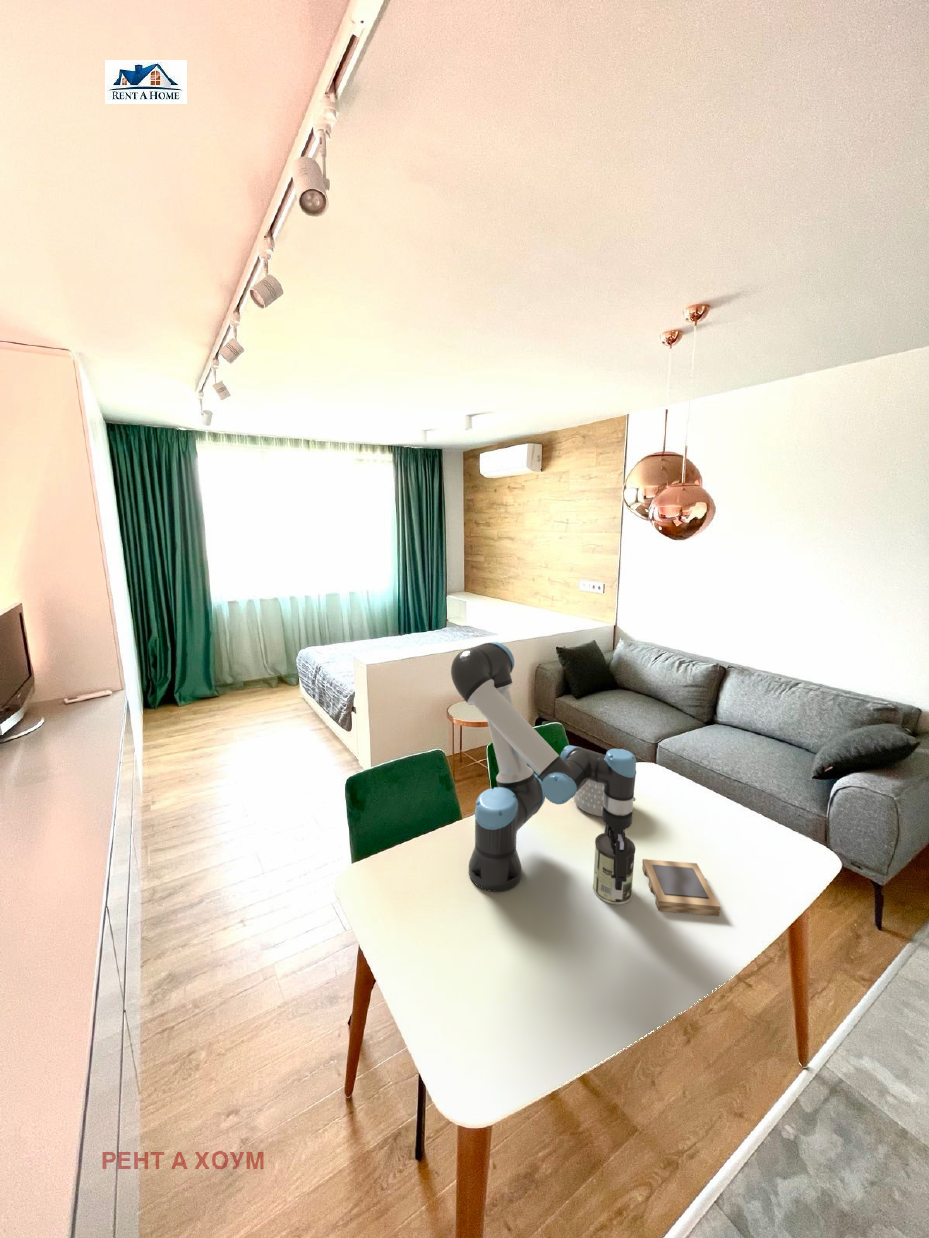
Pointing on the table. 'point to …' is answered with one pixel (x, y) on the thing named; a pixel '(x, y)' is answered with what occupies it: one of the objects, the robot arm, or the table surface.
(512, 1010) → the table surface
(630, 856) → the coffee can
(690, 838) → the table surface
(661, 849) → the table surface
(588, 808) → the planter
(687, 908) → the dock
